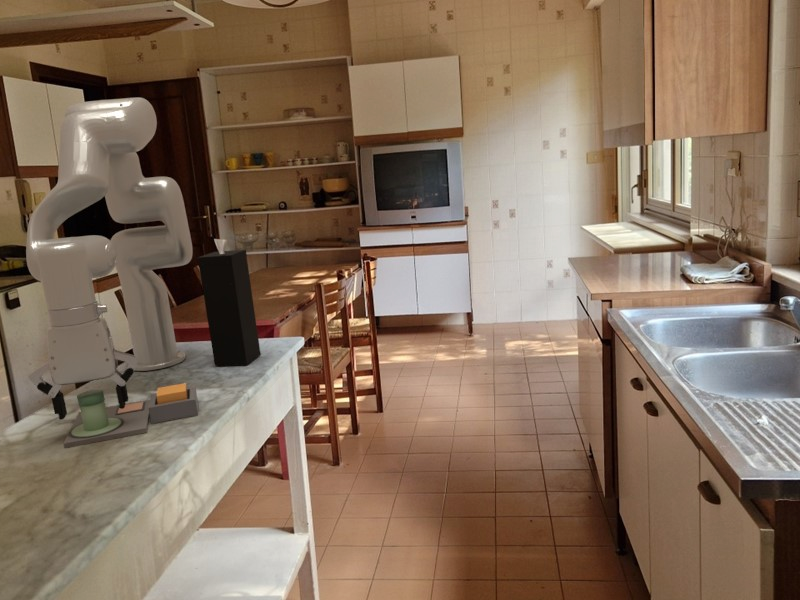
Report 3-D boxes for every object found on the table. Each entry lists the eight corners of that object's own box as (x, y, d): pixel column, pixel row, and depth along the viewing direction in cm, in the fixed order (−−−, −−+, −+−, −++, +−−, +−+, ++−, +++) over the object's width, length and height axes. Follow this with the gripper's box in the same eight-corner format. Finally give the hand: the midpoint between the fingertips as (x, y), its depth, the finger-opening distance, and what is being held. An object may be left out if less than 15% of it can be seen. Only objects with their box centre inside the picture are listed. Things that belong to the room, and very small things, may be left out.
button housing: (153, 409, 128) (151, 394, 128) (197, 401, 130) (195, 386, 130) (151, 423, 121) (148, 407, 120) (198, 415, 123) (195, 399, 122)
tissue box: (247, 365, 151) (228, 239, 145) (214, 367, 152) (194, 242, 147) (261, 355, 158) (243, 235, 153) (229, 356, 160) (211, 237, 154)
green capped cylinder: (85, 424, 121) (79, 392, 119) (110, 420, 122) (104, 388, 121) (81, 433, 117) (75, 399, 115) (107, 428, 118) (101, 395, 117)
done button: (160, 400, 127) (157, 387, 126) (187, 395, 128) (185, 383, 128) (158, 408, 122) (156, 396, 122) (187, 403, 123) (185, 391, 123)
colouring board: (79, 416, 129) (78, 411, 128) (152, 403, 132) (151, 398, 132) (64, 448, 114) (63, 442, 113) (146, 432, 117) (145, 427, 117)
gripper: (130, 304, 121) (147, 395, 124) (23, 319, 116) (43, 414, 120) (126, 312, 114) (144, 409, 117) (12, 328, 109) (34, 429, 113)
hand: (93, 411), depth 119 cm, fingers open, 9 cm apart
